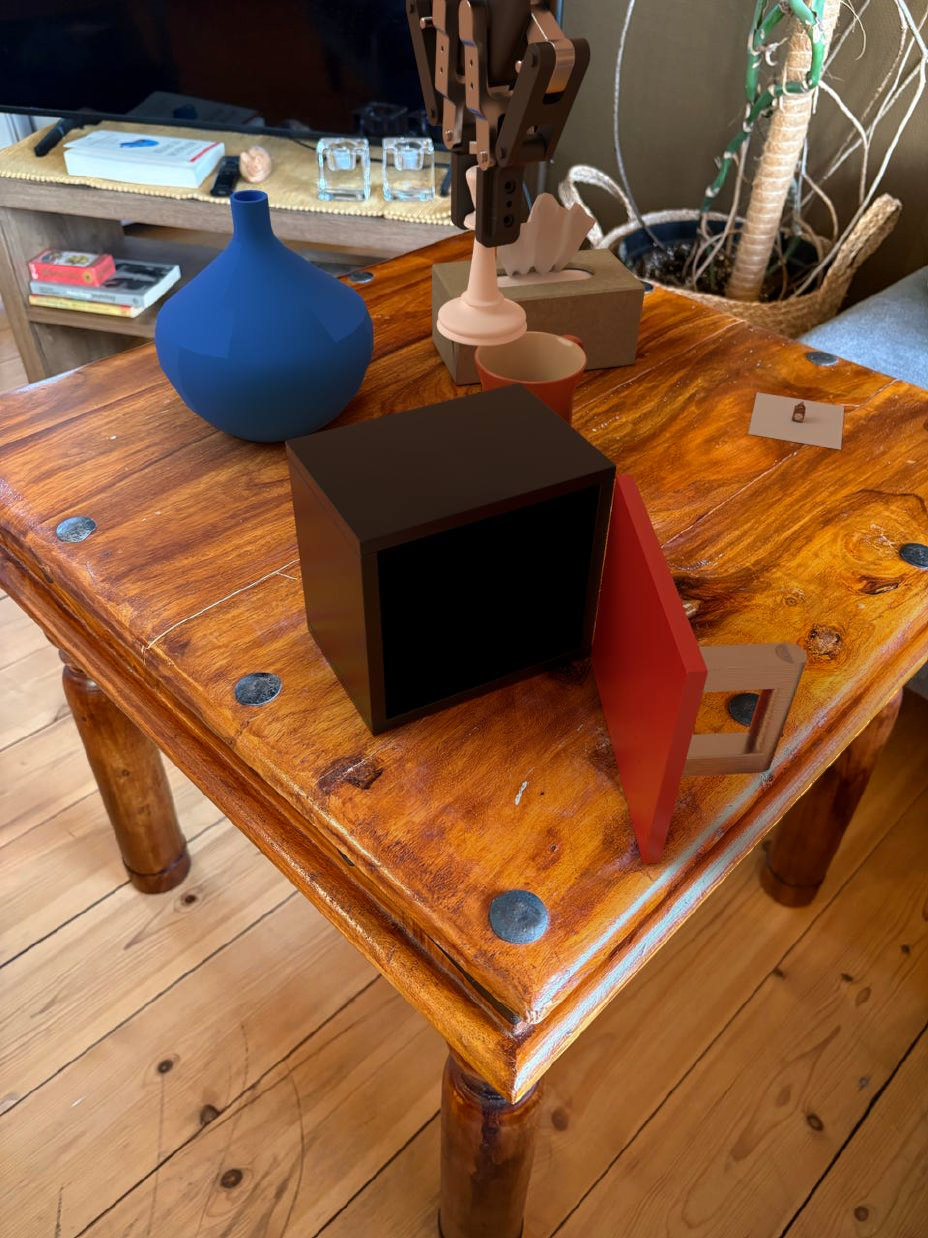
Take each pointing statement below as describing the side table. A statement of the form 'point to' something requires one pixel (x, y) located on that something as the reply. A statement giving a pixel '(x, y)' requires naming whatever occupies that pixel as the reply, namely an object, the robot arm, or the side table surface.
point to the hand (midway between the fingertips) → (484, 232)
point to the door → (673, 679)
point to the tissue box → (552, 290)
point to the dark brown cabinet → (449, 549)
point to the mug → (536, 367)
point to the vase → (264, 336)
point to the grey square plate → (797, 420)
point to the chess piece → (481, 296)
